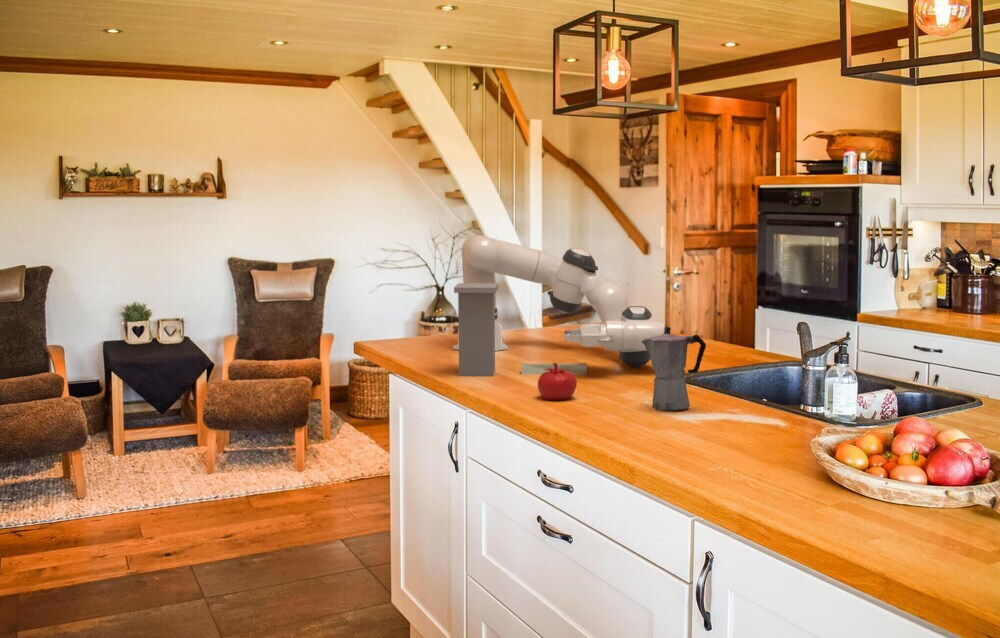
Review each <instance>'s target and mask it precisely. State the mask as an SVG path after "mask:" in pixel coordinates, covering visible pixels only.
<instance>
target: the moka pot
mask: <svg viewBox="0 0 1000 638" xmlns="http://www.w3.org/2000/svg"><path fill="white" fill-rule="evenodd" d="M664 329H665V334H663V335H659V336H655V337H650V338H645V339H644V340H642V341H641V342H642V343H643V344H644V345H645V347H646V349H647V352H648V354H649V355H650V357H651V360H650V362H651V366H652V369H653V370H654V373H653V374H654V377H655V378H654V379H653V383H654V384H653V393H652V394H653V395H652V408H653V409H654V408H655V410H658V411H667V412H668V411H669V412H670V411H680V410H687V409H688V408H689V407H690V406H691V405H690V399H689V395H688V389H687V383H686V377H685V374H686V370H685V368H686V366H687V356H688V345H689V344H690V345H691V344H694V343H699V345H700V346H699V350H698V353H697V357H696V362H695V365H694V368H691V369H688V370H687V373H688V374H695V373H698V372H699V369H700V365H701V363H702V359H703V356H704V353H705V351H706V346H707V343H706V342H705V341H704V340H703V338H701V336H700V335H699V334H694V335H683V336H682V335H678V334H674V333H671V330H672V328H671V327H670V326H666V327H665V328H664Z"/></svg>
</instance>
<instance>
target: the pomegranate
mask: <svg viewBox="0 0 1000 638" xmlns="http://www.w3.org/2000/svg"><path fill="white" fill-rule="evenodd" d="M557 364H558V362H553V365H554V369H553V368H550V369H545V370H549V371H547V372H544V373H543V374H540V376H539V378H538V381H537V389H538V393H539V394H540V396H541V397H542V398H543V399H545V400H547V401H560V400H561V401H562V400H569V399H570V398H572V396H573V395H574V393H575V392H576V390H577V384H578V379H576V376H575V374H572V373H570V372H567V371H565V370H569V369H563V370H560V369H561V368H562V367H561V368H559V369H557ZM570 371H571V370H570Z"/></svg>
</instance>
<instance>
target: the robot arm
mask: <svg viewBox="0 0 1000 638" xmlns="http://www.w3.org/2000/svg"><path fill="white" fill-rule="evenodd" d="M461 245H462V247H461V264H462V267H461V269H462V283H497V282H496V274H498V275H502V276H508V277H512V278H515V279H519V280H523V281H526V282H532V283H535V284H536V283H537V284H542V285H547V286H549V287H550V288H551V290H548V291H547V292H546V293H547V295H548V296H549V302H550V303H551V306H552V307H553V308H554V309H556V310H557V311H559V312H561V313H564V314H574V313H577V312H578V311H579V309H580V308H581V306H582V302H583V299H584V297H586V299H587V302H588V304H589V305H590V306H591V308H593V309H594V310H595V312H596V314H597V315H598V317H599V319H600V320H601V322H602V323H590V324H581V325H579V326H578V328H574V329H564V330H563V337H564V342H569V343H570V342H572V343H579V344H580V346H581V347H585V348H592V347H593V348H595V347H597V348H599V347H604V349H605V352H613V351H614V352H617V351H618V358H619V360H621V362H623V363H624V364H625V365H626V366H628V367H630V368H631V367H632V368H641V367H643V366H645V365H647V364H648V363H649V362H651V357H650V355H649V354H648V352H647V349H646V347H645V345H644V344H643V343H642V342H641V341H642V340H644V339H645V338H650V337H655V336H659V335H663V334H665V329H664V328H665V327H667V324H666V322H663V321H659V320H656V318H654V317H653V315H652V312H651V311H650V310H649V309H648V308H647V307H646V306H641V305H632V306H629V305H628V303H629V302H628V301H629V300H628V297H627V294H626V293H625V291H624V289H623V288H622V287H621V286H620V285H619V284H618V283H616V282H615V281H613V280H612V279H609V278H607V277H605V276H601V275H598V274H597V272H596V271H599V266H598V265H596V261H595V259H594V258H593V256H592V254H590V253H589V252H587V251H586V250H584V249H582V248H570V249H567V250H566V251H565V253H564V254H563V256H562V258H559V257H558V256H556V255H553V254H550V253H548V252H545V251H542V250H538V249H534V248H531V247H527V246H524V245H519V244H516V243H511V242H508V241H503V240H501V239H496V238H492V237H489V236H485V235H480V234H473V235H470V236H468V237H467V238H466V239H465V240H464V242H463V243H462V244H461ZM498 314H499V312H498V308H497V292H496V293H495V352H498V351H504V350H508V349H509V347H508V345H507V344H506V343H505V342H504V341H503V338H504V336H503V330H502V329H503V328H502V324H501V322H499V321H498V318H499V317H498ZM457 327H458V329H457V331H458V332H457V343H456V344H454V345H453V346H452V350H456V351H457V350H458V351H459V325H458V326H457Z"/></svg>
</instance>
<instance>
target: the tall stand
mask: <svg viewBox="0 0 1000 638" xmlns="http://www.w3.org/2000/svg"><path fill="white" fill-rule="evenodd" d="M498 290H499V283H497V282H496V283H463V282H459V283H457V284H456V285H455V286H454V287H453V293H454V294H457V300H458V301H457V303H458V304H457V305H458V308H457V309H458V310H457V311H458V318H457V319H458V320H457V321H458V326H459V350H458V376H459V377H494V375H495V371H496V351H495V293H496V294H497V291H498Z"/></svg>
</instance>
